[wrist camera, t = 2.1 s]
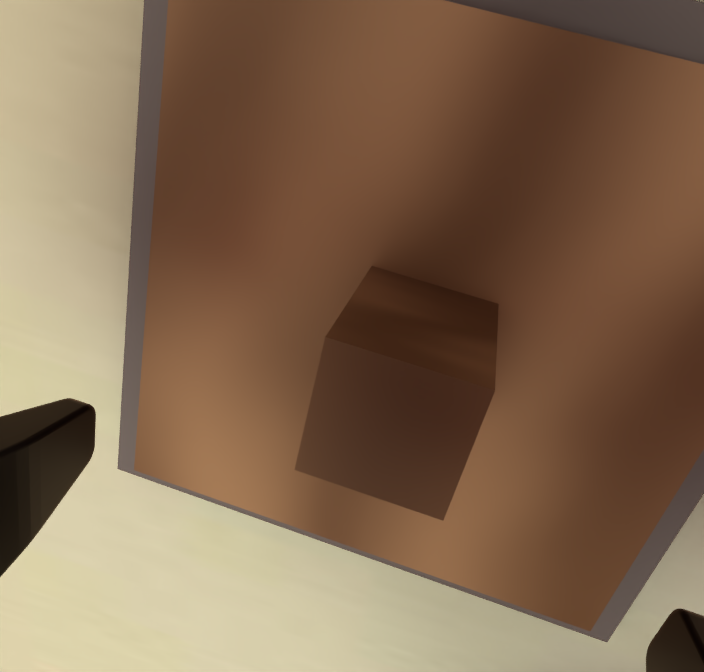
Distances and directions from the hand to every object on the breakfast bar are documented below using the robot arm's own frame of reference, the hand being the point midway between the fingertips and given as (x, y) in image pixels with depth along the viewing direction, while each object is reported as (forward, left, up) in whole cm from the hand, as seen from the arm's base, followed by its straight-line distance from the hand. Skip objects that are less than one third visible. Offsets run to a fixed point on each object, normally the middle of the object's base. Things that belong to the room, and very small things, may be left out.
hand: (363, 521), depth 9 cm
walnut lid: (0, 0, -7) cm, 7 cm away
